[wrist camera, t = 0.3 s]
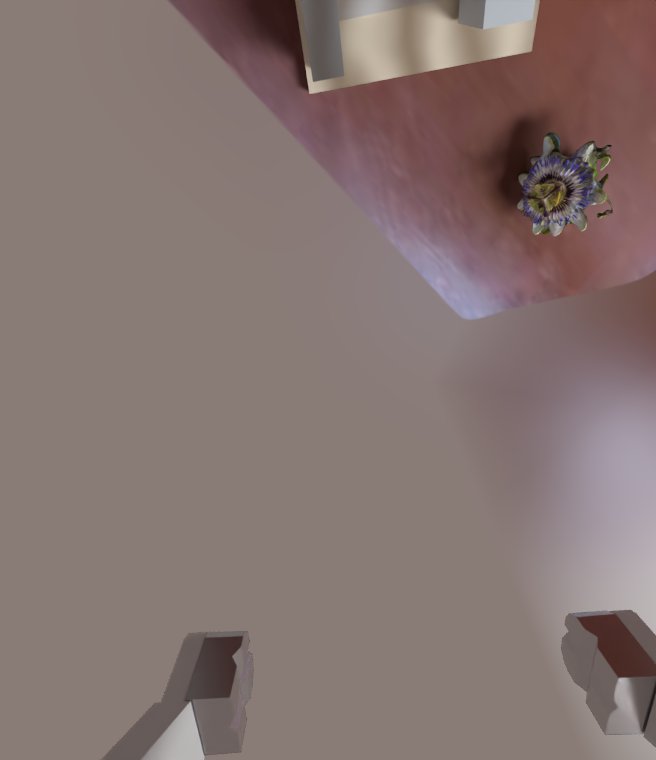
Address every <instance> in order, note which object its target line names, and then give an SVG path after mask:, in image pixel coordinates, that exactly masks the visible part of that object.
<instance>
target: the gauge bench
mask: <svg viewBox="0 0 656 760" xmlns="http://www.w3.org/2000/svg"><path fill="white" fill-rule="evenodd" d="M459 1H460V0H295V3H296V10H297V16H298V23H299V29H300V36H301V42H302V49H303V55H304V62H305V68H306V75H307V81H308V87H309V94H312V93H317V92H322V91H328V90H333V89H338V88H343V87H349V86H354V85H359V84H364V83H369V82H375V81H380V80H385V79H390V78H395V77H401V76H406V75H411V74H416V73H421V72H427V71H432V70H437V69H442V68H447V67H453V66H458V65H463V64H468V63H473V62H479V61H484V60H489V59H494V58H500V57H505V56H510V55H515V54H520V53H526V52H531V51H532V45H533V39H534V33H535V26H536V20H537V14H538V8H539V2H540V0H535V6H534V12H533V19H532V20H528V21H523V22H518V23H513V24H508V25H503V26H498V27H493V28H488V29H479V28H475V27H471V26H467V25H463V24H459V23H458V18H459Z"/></svg>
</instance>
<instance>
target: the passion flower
mask: <svg viewBox="0 0 656 760" xmlns="http://www.w3.org/2000/svg"><path fill="white" fill-rule="evenodd" d="M559 146H560V141H559V137H558V136H557V134H555V133H552V132H551V133H548V134H547V135H546V136H545V138H544V144H543V154H542V156H535V157H532V158H531V164H532V167H531V168H530V172H525V173H522V174H520V175H519V177H518V178H519V183H520V184H521V185H522V186H523V192H522V194H524V197H522V198H521V200H520V201H519V203H518V205H517V208H518V209H520V210H521V212H522V211H526V212H527V213H526V214H525V215H526V217H527V216H529V217H530V218H531V221H533V226H532V232H533V234H538V233H539V232H541V231H542V233H543V234H548V233H551V234H552V235H553V236H557V235H558V234H559V233H561V232H562V231H563V229H564V227H565V225H567V224H574V225H577V227H578V228H579V230H581V231H583V230H585V229H586V226H587V216H586V215H585V214H584V212H583V210H584V209H586V207H587V206H588V204H590V205H594V204H602V203H604V202H605V201H606V200H607V201H608V203H609V204H610V206H611V207H612V210H611V211H610V210H606V211H605V212H604V213H598V214H597V217H598V218H601V217H604V216H607V215H608V216H609V215H610V214H612V213H613V205H612V204H611V202H610V200H609V198H608V196H607V195H606V194H605V192H604V191H603V190H602V187H603V185H604V183H605V182H606V180H607V179H608V174H606V175H605V176H604V177H603V178H602V179H601V181H599V182H597V181H596V177H597V175H598V173H597V169H596V168H597V167H596V164H595V163H596V162H597V161H598V160H601V161H602V164H601V167H600V171H601V170H602V169H603V168H605V167H606V166H607V165H608V163H609V161H610V159H611V157H610V155H607V154H606V152H607V151H608V150H609V148H610V147H611V146H612V145H607V146H605V147H603V148H597V147H596V145H595V141H591V142H588V143H586V144H584V145H583V146H582V147H581V148H580V149H579V150H577V151H576V152H575V153H574V154H572V155H571V156H569V157H566V156H564V155H562V154H561V153H560V151H559ZM600 152H601V154H600V155H599V156H597V155H598V153H600ZM525 215H524V216H525ZM524 216H523V217H524Z"/></svg>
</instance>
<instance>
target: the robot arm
mask: <svg viewBox="0 0 656 760" xmlns="http://www.w3.org/2000/svg"><path fill="white" fill-rule="evenodd" d="M565 626H566V627H567V629H568V631H569V632H568V633H567V634H566V635H565V636H564V637H563V638H562V645H561V650H562V654H563V659H564V662H565V665H566V667H567V670H568V672H569V674H570V675H571V677H572V679H573V681H574V682H575V683H576V684H577V685H579V686H580V687H581V688H583V689H584V690H585V691H586V692H587V694H586V703H587V705H588V707H589V708H590V710H591V712H592V714H593V715H594V717H595V719H596V720H597V722H598V724H599V725H600V727H601V729H602V731H603V732H604V734H605V735H621V734H622V735H623V734H644V737H645V738H646V739H647V740H648V741H649V742H650V743H651V744H652V745H653V746H655V747H656V635H655V634H654V633H653V632H652V631H651V630H650V628H649V627H648V626H647V625H646V624H645V623H644V622H643V621H642V619H641V618H640V617H639V616H638V615H637V614H636V613H635V612H633V611H632V610H620V611H596V612H581V613H570V614H568V615H567V616H566V620H565ZM249 642H250V640H249V636H248V632H247V631H237V632H236V631H234V632H199V633H188V635H187V636H186V637H185V639H184V641H183V643H182V646H181V649H180V652H179V654H178V657H177V660H176V663H175V665H174V668H173V671H172V673H171V676H170V679H169V682H168V684H167V687H166V690H165V692H164V695H163V698H162V701H161V702H159V703H154V704H153V705H152V707H151V708H149V709H148V711H147V712H146V713H145V714H144V715H143V716H142V717H141V718H140V719H139V720H138V721H137V722H136V723H135V724H134V725H133V726H132V728H130V730H129V731H128V732H127V733H126V734H125V735H124V736H123V737H122V738H121V739H120V740H119V741H118V742H117V744H115V746H113V748H112V749H111V750H110V751H109V752H108V753H107V754H106V755H105V756H104V757H103V758H102V759H101V760H204V759H205V758H204V755H215V754H227V753H238V752H241V750H242V745H243V739H244V733H245V727H246V722H247V717H246V711H245V705H246V703H247V702H248V701H249V700H250V698H251V691H252V684H253V658H252V654H251V653H250V652H249V651H248V647H249Z"/></svg>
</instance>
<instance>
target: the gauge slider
mask: <svg viewBox="0 0 656 760" xmlns="http://www.w3.org/2000/svg"><path fill="white" fill-rule="evenodd" d="M534 6H535V0H460V1H459V18H458V23H459V24H463V25H467V26H471V27H475V28H479V29H488V28H493V27H498V26H503V25H508V24H513V23H518V22H523V21H528V20H532V19H533V12H534Z"/></svg>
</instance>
